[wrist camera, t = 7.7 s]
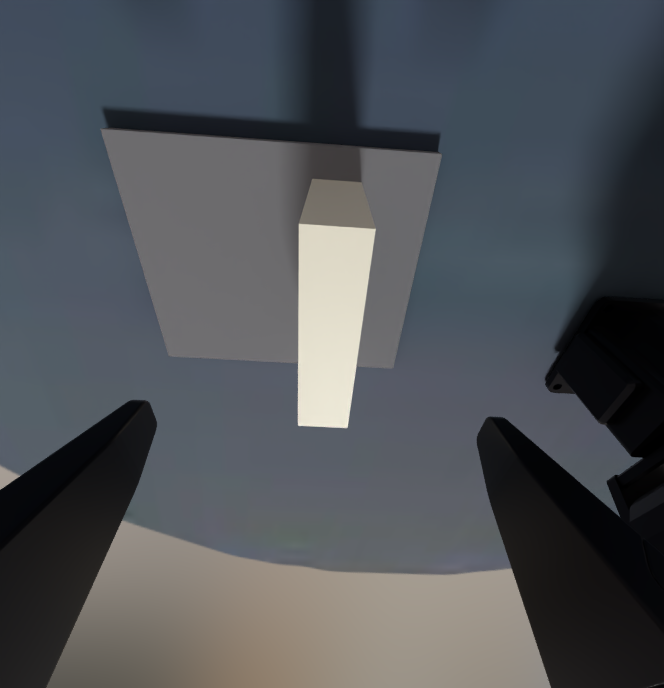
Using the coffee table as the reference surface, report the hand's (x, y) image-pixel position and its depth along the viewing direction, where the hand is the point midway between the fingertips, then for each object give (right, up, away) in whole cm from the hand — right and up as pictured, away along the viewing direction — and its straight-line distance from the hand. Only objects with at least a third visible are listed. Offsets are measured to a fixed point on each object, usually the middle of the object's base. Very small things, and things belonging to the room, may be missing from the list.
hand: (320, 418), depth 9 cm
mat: (-2, +6, +7) cm, 10 cm away
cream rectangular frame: (0, +5, +7) cm, 9 cm away
